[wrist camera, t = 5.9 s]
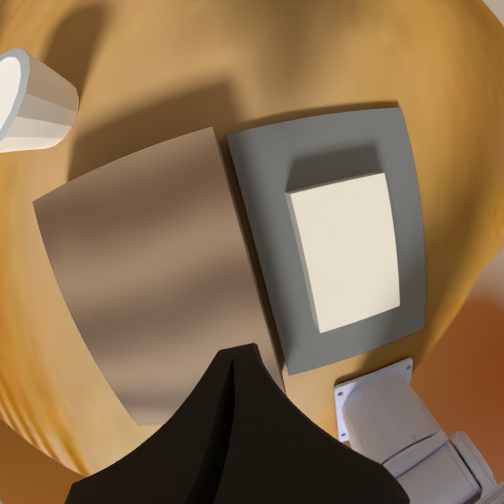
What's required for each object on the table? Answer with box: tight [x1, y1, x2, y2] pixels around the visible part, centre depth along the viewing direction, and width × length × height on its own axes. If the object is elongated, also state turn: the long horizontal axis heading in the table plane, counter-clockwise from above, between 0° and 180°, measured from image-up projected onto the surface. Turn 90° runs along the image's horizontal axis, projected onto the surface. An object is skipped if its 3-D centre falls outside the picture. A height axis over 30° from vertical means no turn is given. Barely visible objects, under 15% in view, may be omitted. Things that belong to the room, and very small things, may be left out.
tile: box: [285, 173, 400, 333], centre depth 17 cm, size 9×6×2 cm, turn 15°
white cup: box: [0, 48, 79, 153], centre depth 11 cm, size 7×7×7 cm
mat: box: [226, 107, 426, 376], centre depth 18 cm, size 18×12×1 cm
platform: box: [33, 126, 287, 425], centre depth 17 cm, size 18×12×4 cm, turn 14°
